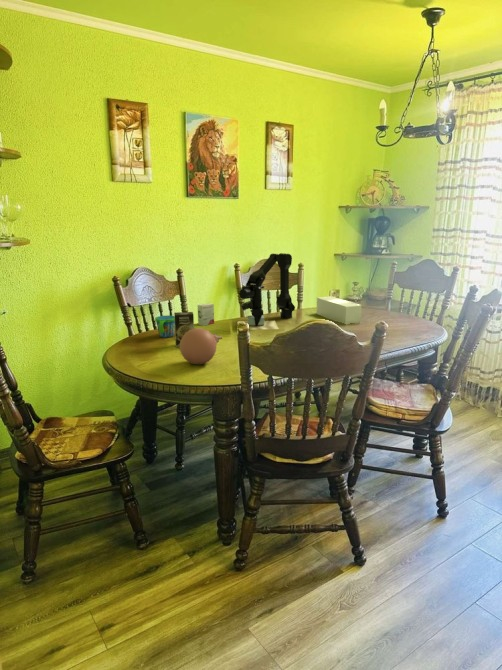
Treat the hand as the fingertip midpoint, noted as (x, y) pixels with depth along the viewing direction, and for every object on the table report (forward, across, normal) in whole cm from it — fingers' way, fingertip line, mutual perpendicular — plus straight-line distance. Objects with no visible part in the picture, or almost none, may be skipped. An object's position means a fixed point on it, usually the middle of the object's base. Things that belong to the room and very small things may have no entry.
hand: (256, 324), depth 251 cm
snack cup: (+2, +14, -48) cm, 50 cm away
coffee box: (+2, +32, -38) cm, 49 cm away
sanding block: (0, 0, 0) cm, 0 cm away
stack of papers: (+2, -20, +52) cm, 55 cm away
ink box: (+2, -11, -28) cm, 31 cm away
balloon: (+2, +59, -28) cm, 65 cm away
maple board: (+2, 0, +1) cm, 2 cm away
